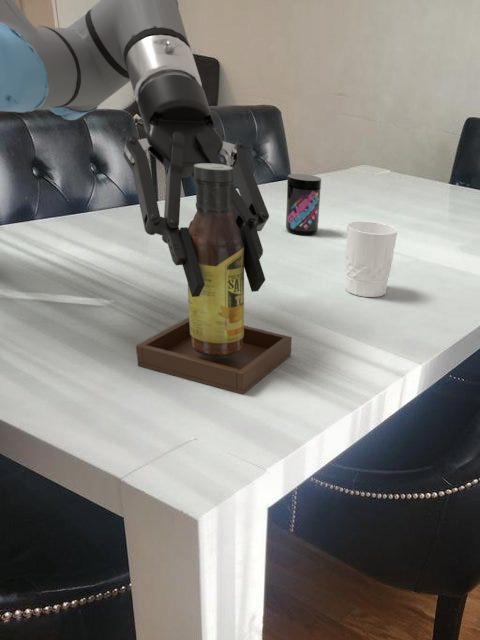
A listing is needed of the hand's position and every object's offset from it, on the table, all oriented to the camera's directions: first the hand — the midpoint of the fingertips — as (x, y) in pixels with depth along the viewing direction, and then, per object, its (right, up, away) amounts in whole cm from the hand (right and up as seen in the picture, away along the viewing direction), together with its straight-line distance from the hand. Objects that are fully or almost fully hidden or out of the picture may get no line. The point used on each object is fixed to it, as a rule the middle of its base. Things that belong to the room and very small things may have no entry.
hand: (229, 287), depth 70 cm
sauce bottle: (-3, -5, +7) cm, 9 cm away
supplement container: (+2, +31, +64) cm, 71 cm away
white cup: (+15, +10, +36) cm, 41 cm away
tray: (-3, -6, +8) cm, 11 cm away
